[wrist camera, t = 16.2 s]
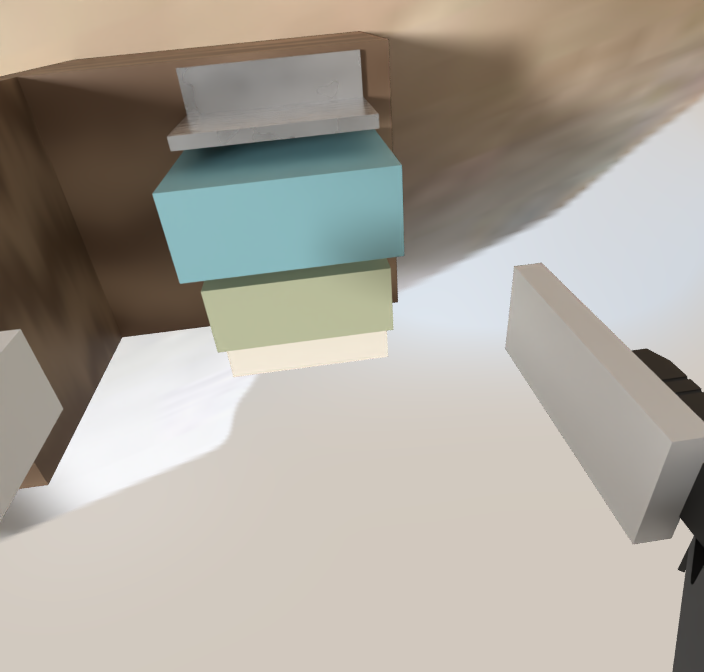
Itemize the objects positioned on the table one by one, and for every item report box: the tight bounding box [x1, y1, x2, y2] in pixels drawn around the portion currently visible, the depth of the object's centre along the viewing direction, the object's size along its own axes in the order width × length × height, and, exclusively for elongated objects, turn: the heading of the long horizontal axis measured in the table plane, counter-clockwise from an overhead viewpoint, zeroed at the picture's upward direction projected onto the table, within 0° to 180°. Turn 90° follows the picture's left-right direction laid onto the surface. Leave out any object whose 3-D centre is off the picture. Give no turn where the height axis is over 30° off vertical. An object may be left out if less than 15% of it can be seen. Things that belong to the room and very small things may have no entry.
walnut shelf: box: [0, 31, 398, 489], centre depth 28 cm, size 15×20×24 cm
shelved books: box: [201, 258, 393, 377], centre depth 28 cm, size 6×9×7 cm, turn 95°
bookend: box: [167, 49, 379, 151], centre depth 23 cm, size 3×9×6 cm, turn 95°
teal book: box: [152, 129, 404, 284], centre depth 24 cm, size 4×10×8 cm, turn 95°
